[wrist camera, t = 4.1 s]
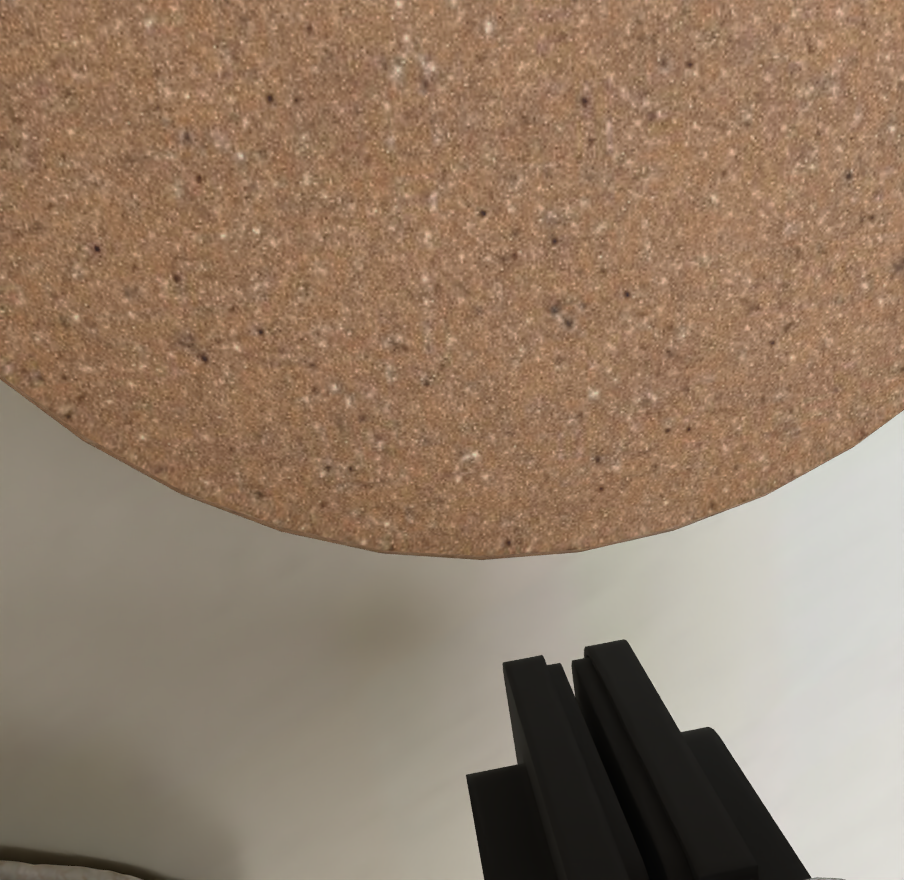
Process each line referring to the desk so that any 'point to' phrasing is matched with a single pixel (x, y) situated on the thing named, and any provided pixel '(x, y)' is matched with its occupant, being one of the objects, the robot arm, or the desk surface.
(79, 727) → the desk surface
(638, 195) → the trinket box
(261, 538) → the desk surface
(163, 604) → the desk surface
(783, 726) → the desk surface
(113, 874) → the washcloth
